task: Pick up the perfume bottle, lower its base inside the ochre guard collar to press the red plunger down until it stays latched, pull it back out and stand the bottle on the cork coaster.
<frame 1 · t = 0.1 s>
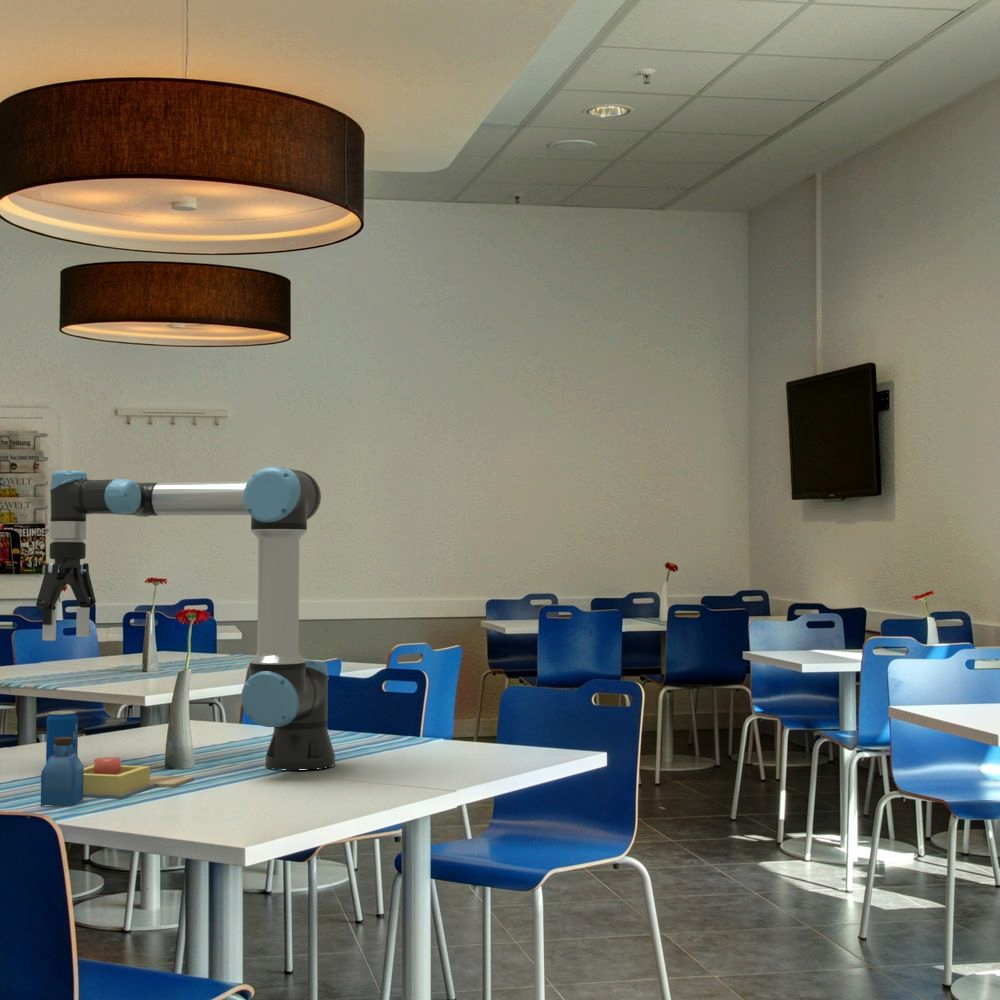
hand: (66, 638, 284), 28 cm above the table, fingers open, 13 cm apart
perfume bottle: (62, 803, 243), on the table
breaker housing: (107, 790, 255), on the table
coaster: (163, 782, 264), on the table
beverage can: (61, 768, 283), on the table
plunger: (107, 766, 255), point 5 cm above the table, slide at 0.0 cm
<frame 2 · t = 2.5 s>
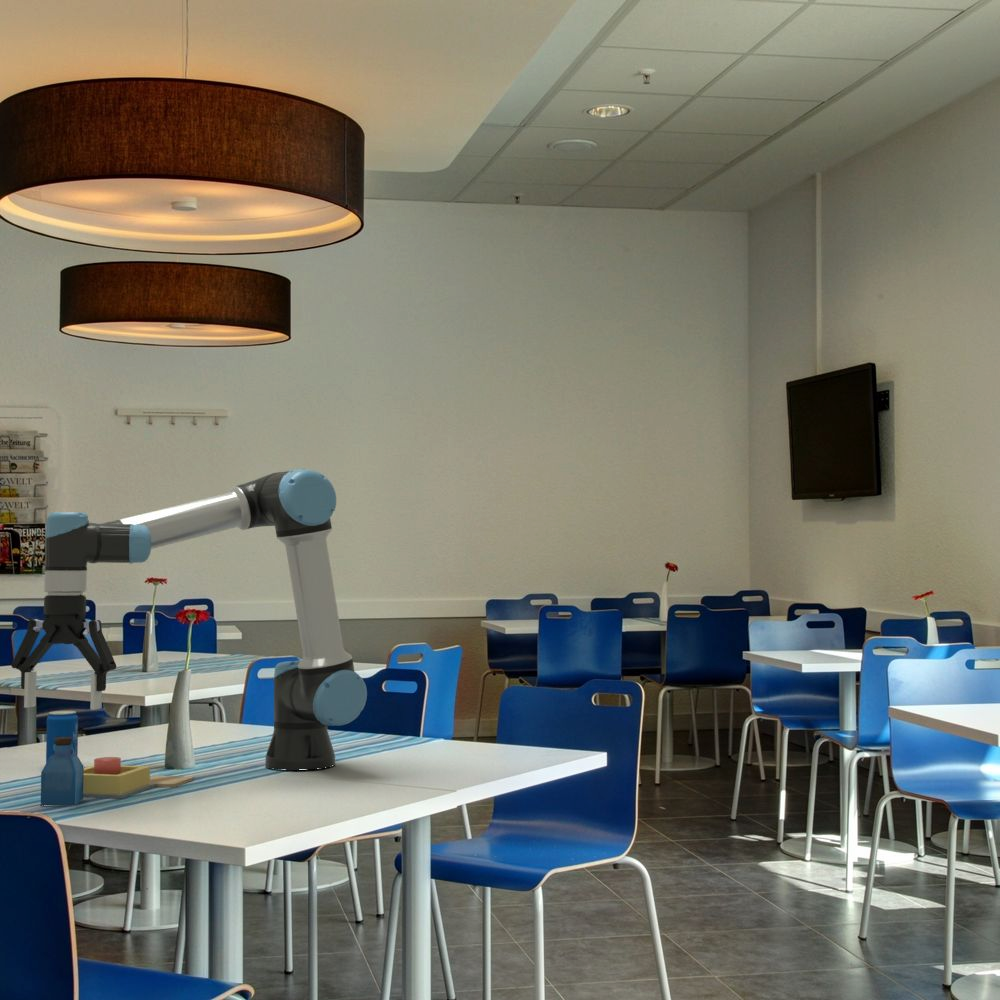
hand: (62, 708, 243), 17 cm above the table, fingers open, 13 cm apart
nothing on the table moved.
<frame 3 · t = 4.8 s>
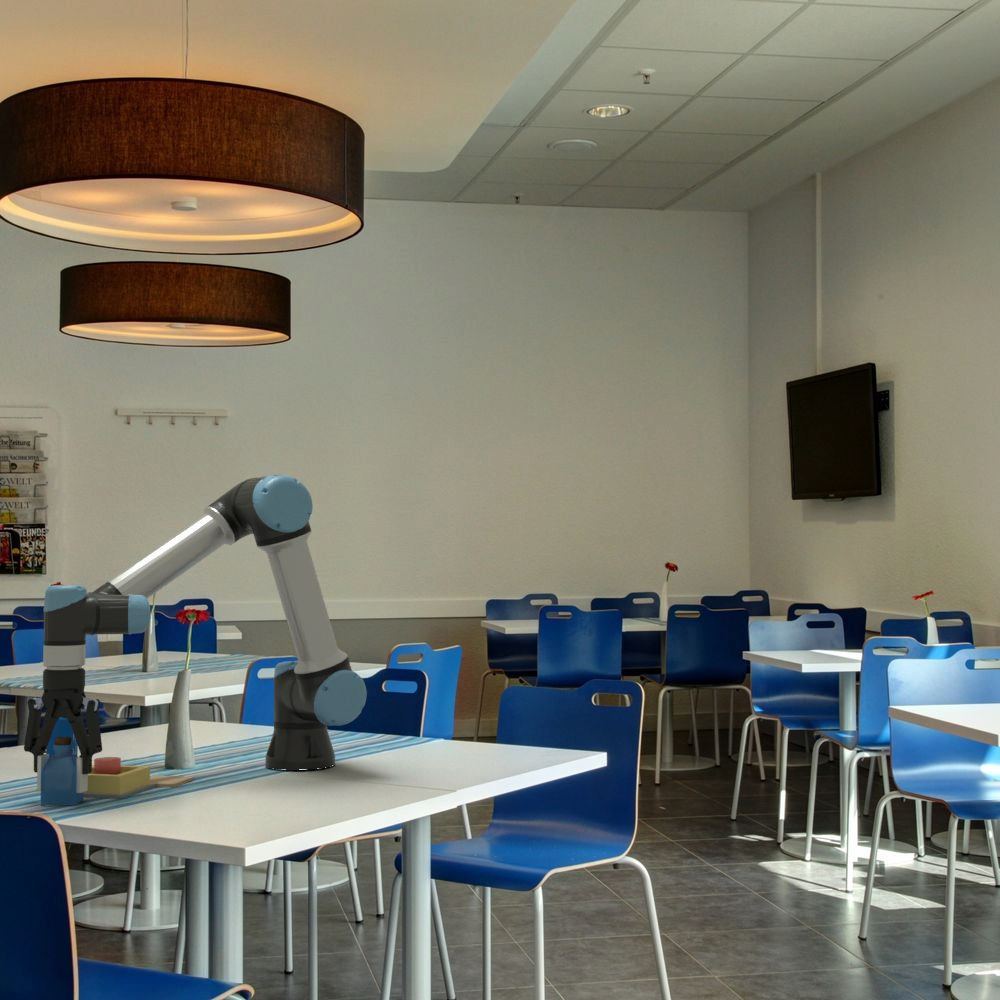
hand: (62, 790, 243), 2 cm above the table, fingers closed on perfume bottle, 7 cm apart
perfume bottle: (62, 803, 243), on the table, touching gripper
everything else where it was.
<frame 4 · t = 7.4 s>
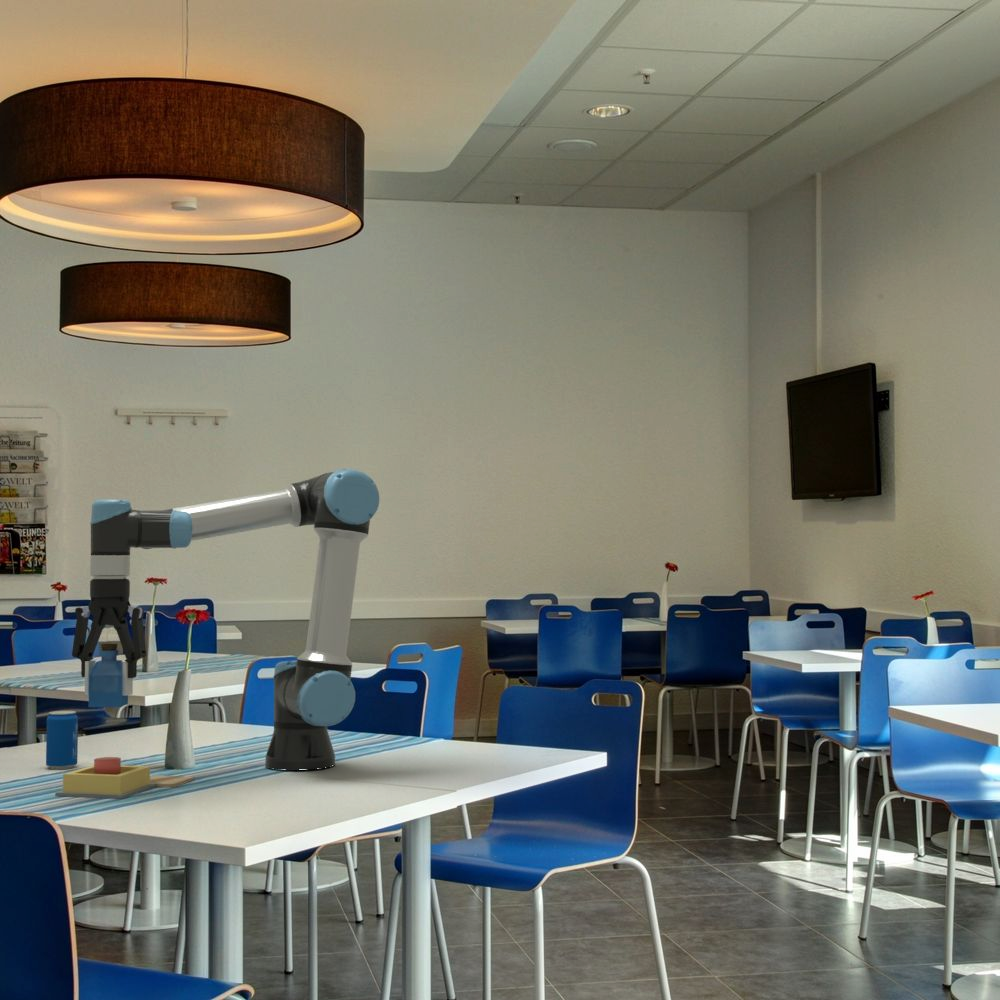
hand: (108, 694, 256), 19 cm above the table, fingers closed on perfume bottle, 7 cm apart
perfume bottle: (108, 706, 256), point 16 cm above the table, touching gripper
everything else where it was.
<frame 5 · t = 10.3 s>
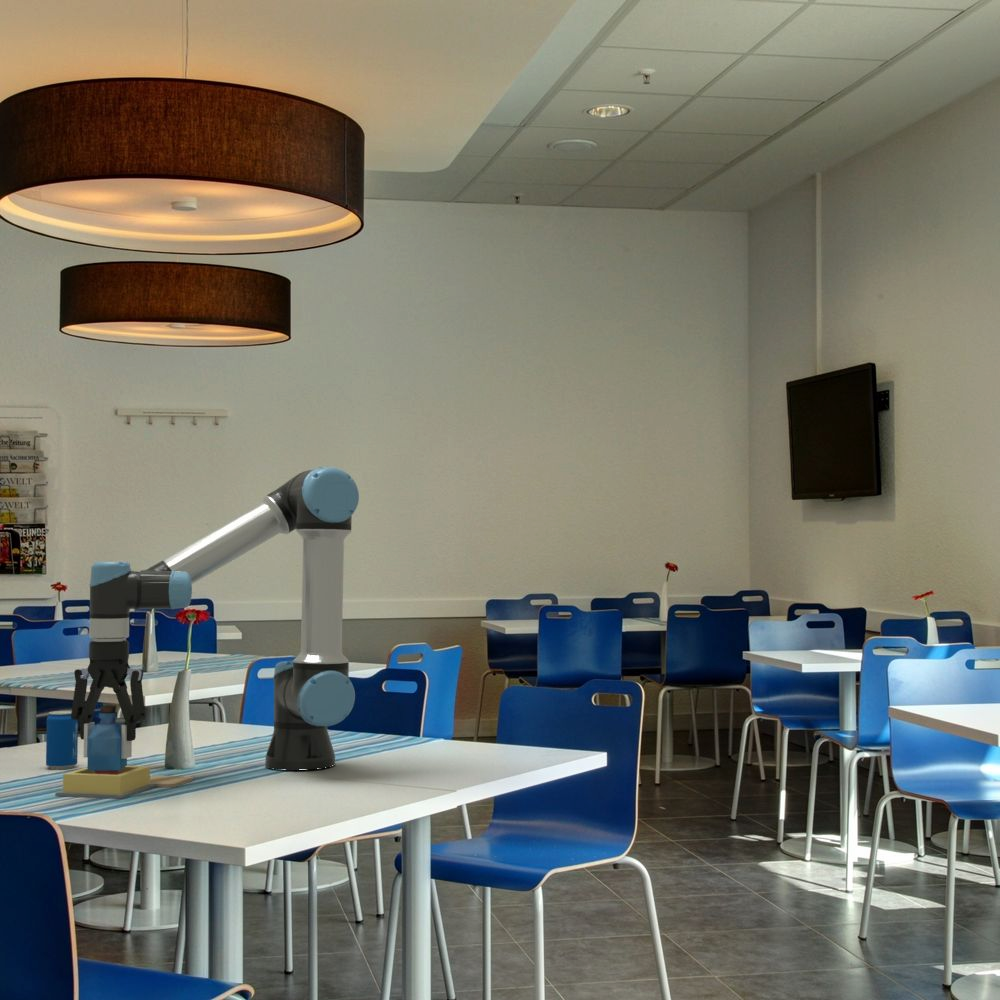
hand: (107, 756, 255), 7 cm above the table, fingers closed on perfume bottle, 7 cm apart
perfume bottle: (107, 769, 255), point 4 cm above the table, touching gripper, plunger
plunger: (107, 775, 255), point 3 cm above the table, slide at -1.8 cm, touching perfume bottle
everything else where it was.
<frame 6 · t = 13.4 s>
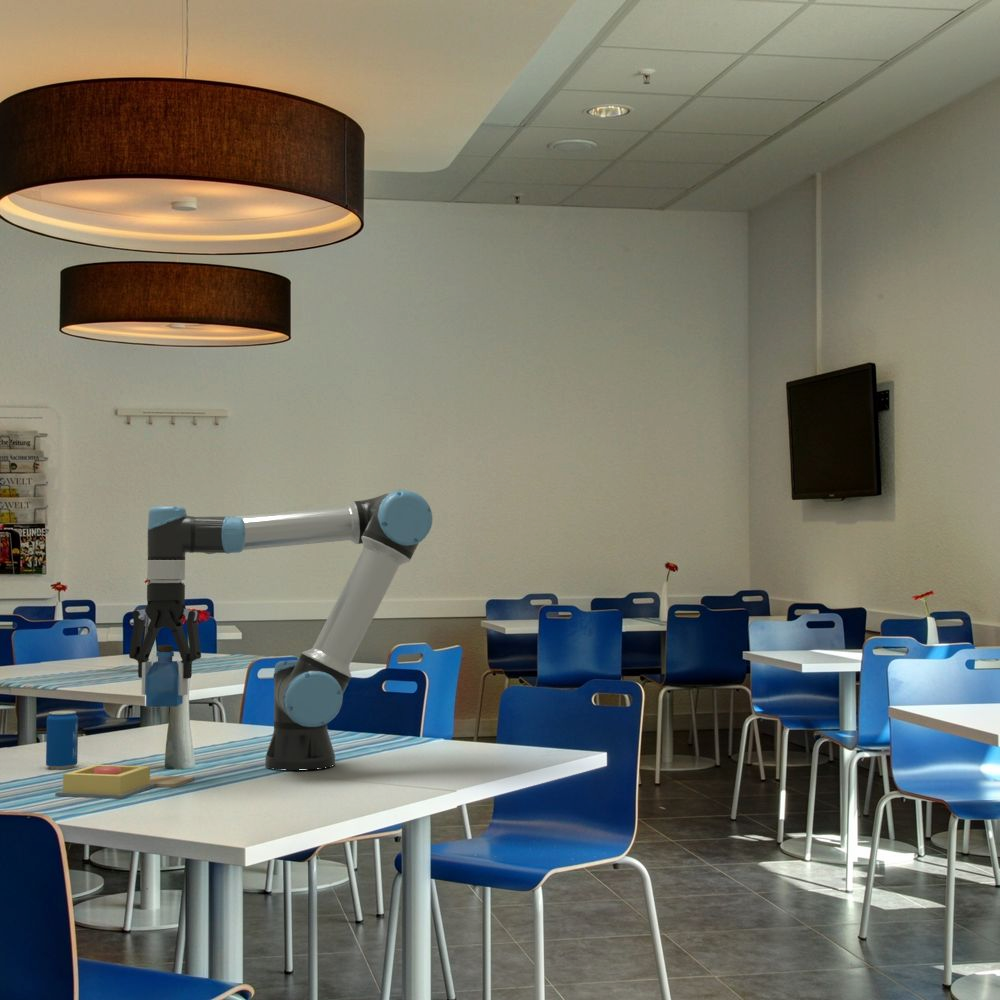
hand: (164, 694, 265), 18 cm above the table, fingers closed on perfume bottle, 7 cm apart
perfume bottle: (164, 705, 265), point 16 cm above the table, touching gripper
plunger: (107, 775, 255), point 3 cm above the table, slide at -1.8 cm
everything else where it was.
when the fingers open (4 cm above the table, at t = 16.2 s): perfume bottle stays where it is, resting on coaster.
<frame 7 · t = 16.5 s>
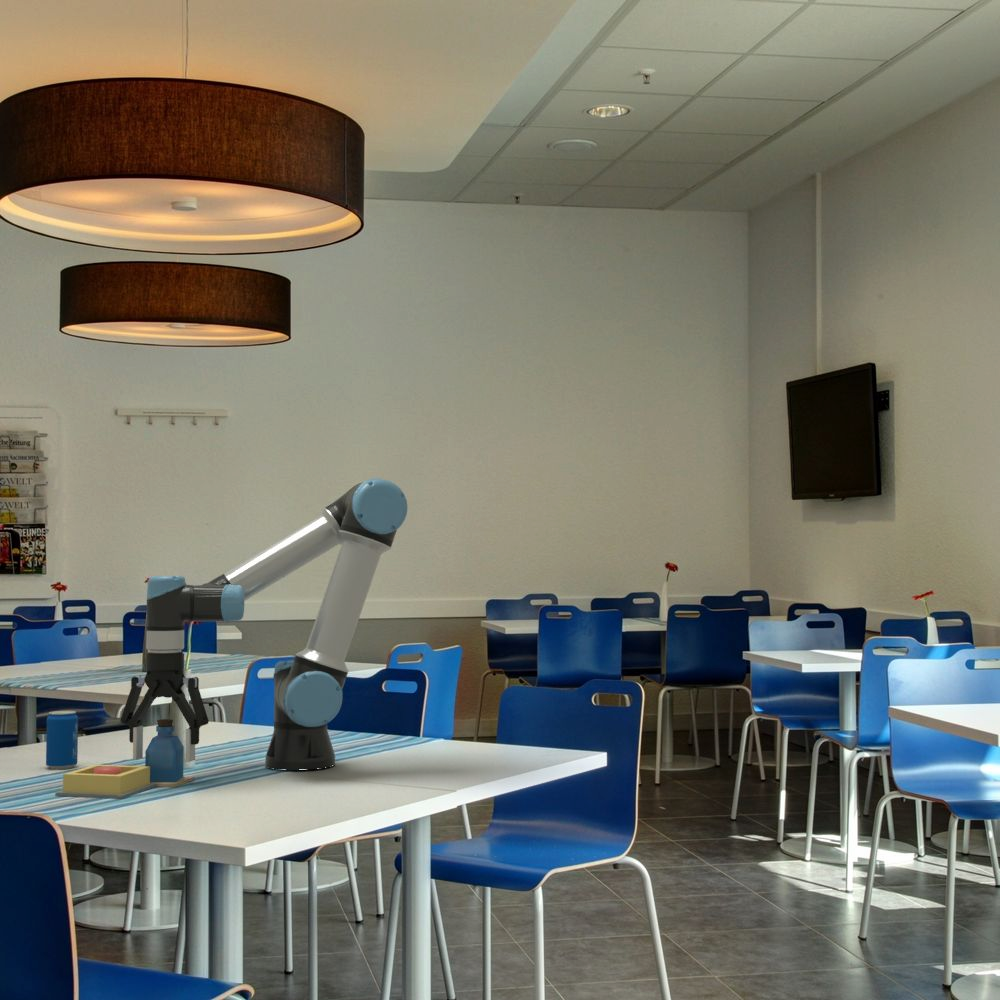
hand: (163, 759, 265), 5 cm above the table, fingers open, 11 cm apart
perfume bottle: (164, 780, 264), resting on coaster
everything else where it was.
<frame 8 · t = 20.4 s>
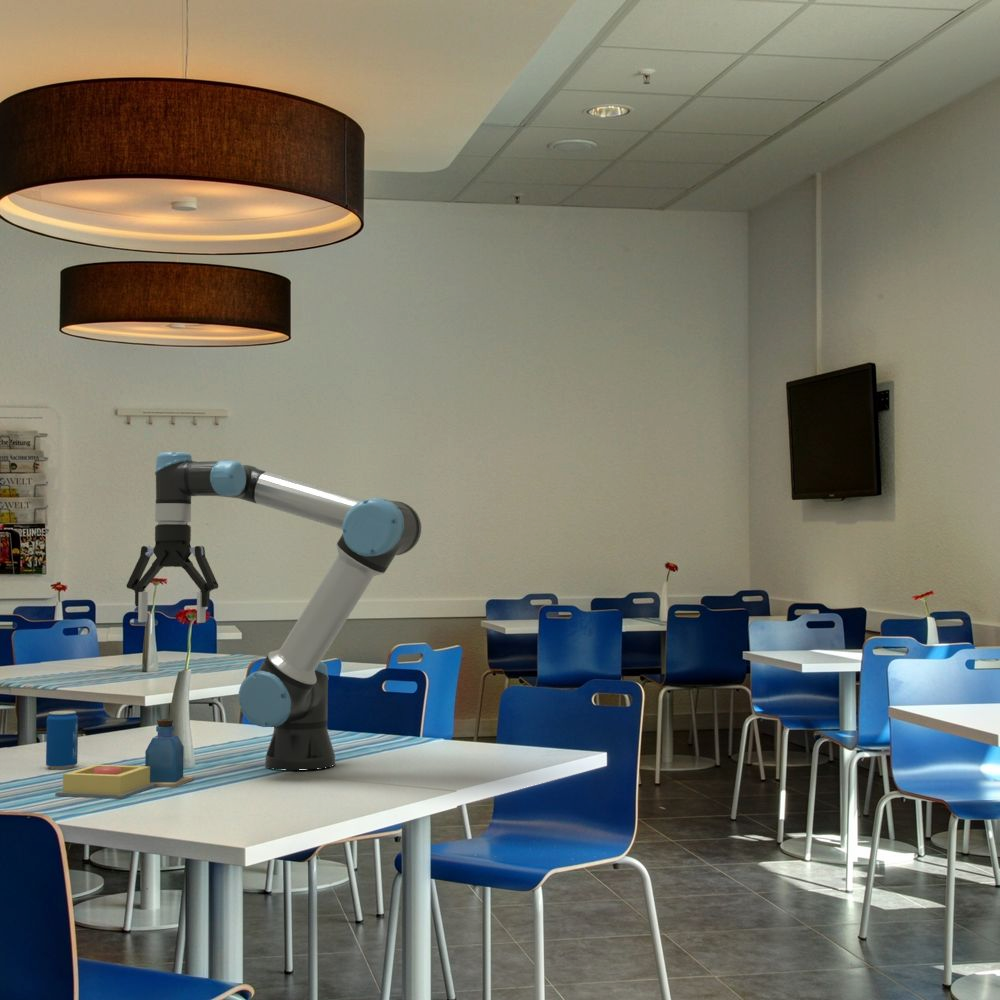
hand: (171, 622, 281), 32 cm above the table, fingers open, 13 cm apart
nothing on the table moved.
at the end: plunger slide at -1.8 cm; perfume bottle inside the target area (0.1 cm from its centre), resting on coaster; perfume bottle tilted 0° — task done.
